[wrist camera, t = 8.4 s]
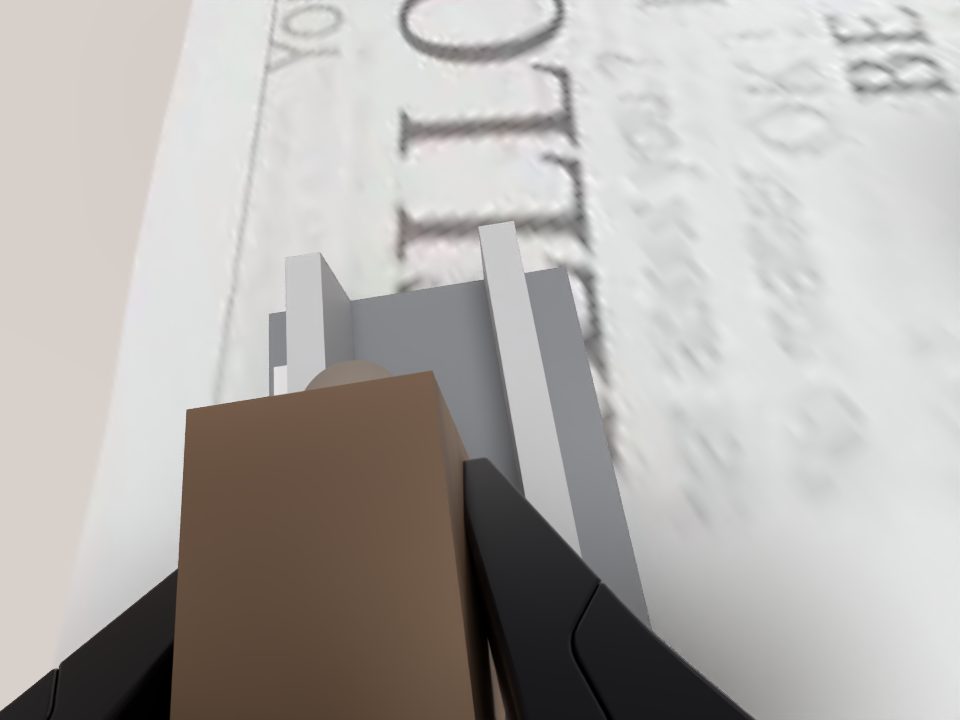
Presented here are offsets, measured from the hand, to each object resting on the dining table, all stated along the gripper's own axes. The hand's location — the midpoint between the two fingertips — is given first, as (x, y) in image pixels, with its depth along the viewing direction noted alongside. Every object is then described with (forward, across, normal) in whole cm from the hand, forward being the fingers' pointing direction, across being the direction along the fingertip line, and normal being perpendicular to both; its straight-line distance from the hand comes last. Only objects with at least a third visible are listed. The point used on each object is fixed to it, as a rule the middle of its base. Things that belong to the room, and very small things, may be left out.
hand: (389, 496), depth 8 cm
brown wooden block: (+4, 0, +6) cm, 7 cm away
